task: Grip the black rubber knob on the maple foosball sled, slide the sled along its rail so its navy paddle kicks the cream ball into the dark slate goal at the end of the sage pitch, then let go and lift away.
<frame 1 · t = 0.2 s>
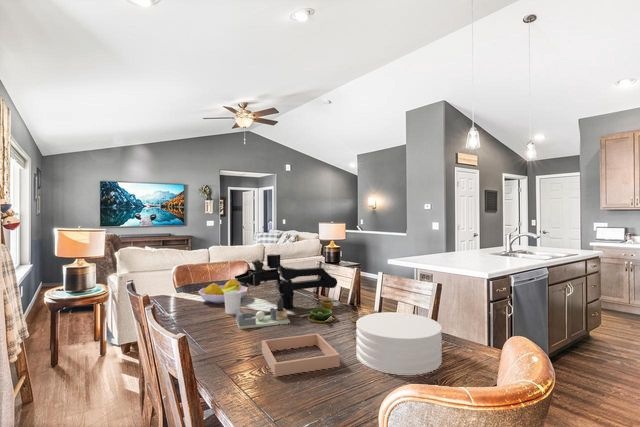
hand: (236, 278, 175), 17 cm above the table, tool horizontal, fingers open, 9 cm apart
tableware set: (347, 323, 161), on the table
rectangular frame: (298, 359, 120), on the table
sled: (278, 308, 162), point 5 cm above the table, slide at 0.0 cm
pitch: (262, 322, 160), on the table
fruit bowl: (224, 301, 199), on the table
white cup: (232, 313, 175), on the table
ball: (260, 315, 160), point 3 cm above the table, touching pitch
plate stack: (398, 358, 121), on the table
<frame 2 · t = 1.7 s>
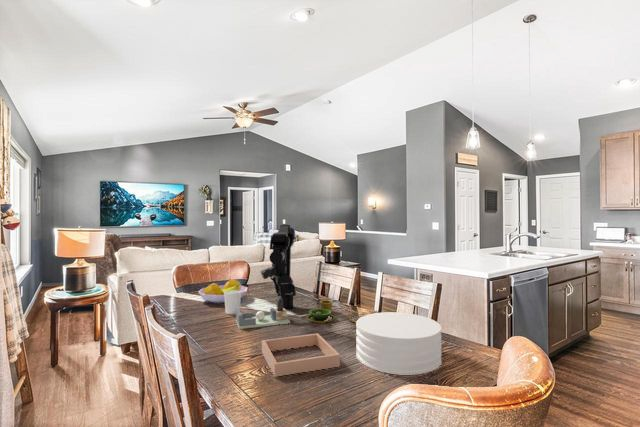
hand: (279, 295, 163), 11 cm above the table, tool pointing down, fingers open, 9 cm apart
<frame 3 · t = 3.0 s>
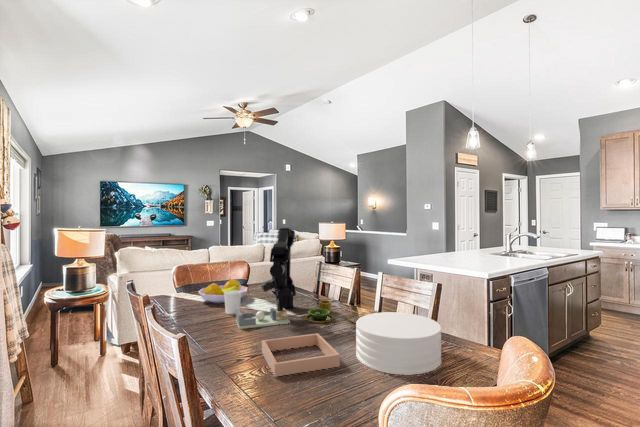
hand: (280, 308, 163), 6 cm above the table, tool pointing down, fingers closed on sled, 3 cm apart
sled: (278, 308, 162), point 5 cm above the table, slide at 0.0 cm, touching gripper
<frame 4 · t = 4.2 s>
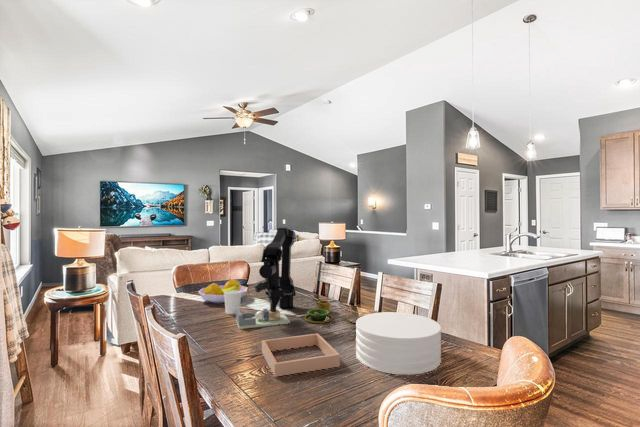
hand: (273, 308, 162), 6 cm above the table, tool pointing down, fingers closed on sled, 3 cm apart
sled: (271, 309, 161), point 5 cm above the table, slide at 3.2 cm, touching gripper
ball: (259, 315, 160), point 3 cm above the table, tilted 6°, touching pitch
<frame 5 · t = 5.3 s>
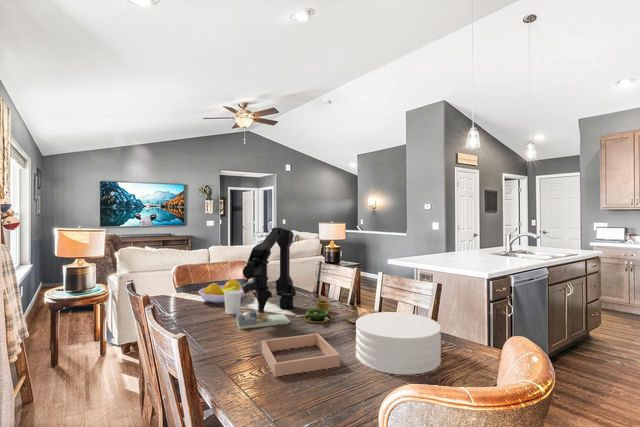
hand: (260, 309, 160), 6 cm above the table, tool pointing down, fingers closed on sled, 3 cm apart
sled: (259, 310, 160), point 5 cm above the table, slide at 8.7 cm, touching gripper
ball: (246, 317, 158), point 3 cm above the table, tilted 175°, touching pitch
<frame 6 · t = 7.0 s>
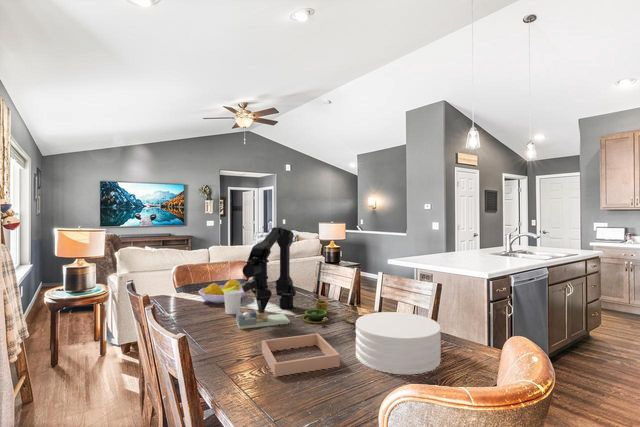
hand: (260, 308, 160), 6 cm above the table, tool pointing down, fingers open, 9 cm apart
sled: (259, 310, 160), point 5 cm above the table, slide at 8.7 cm
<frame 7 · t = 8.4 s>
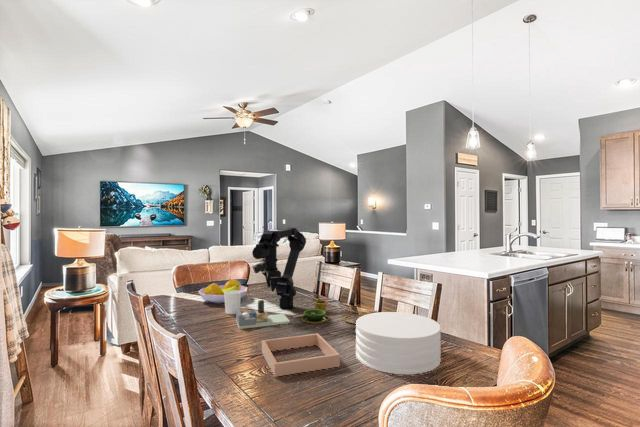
hand: (270, 289, 172), 12 cm above the table, tool pointing down, fingers open, 9 cm apart
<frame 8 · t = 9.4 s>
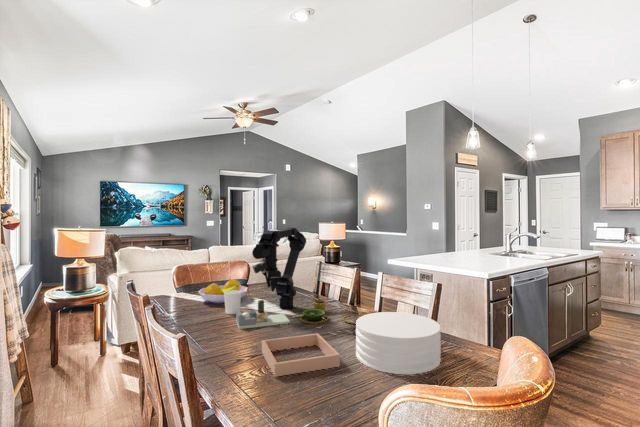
hand: (270, 289, 172), 12 cm above the table, tool pointing down, fingers open, 9 cm apart
at the end: ball 0.1 cm from the target spot on the pitch, point 3.0 cm above the pitch's base; sled slide at 8.7 cm; the gripper is holding nothing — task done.
